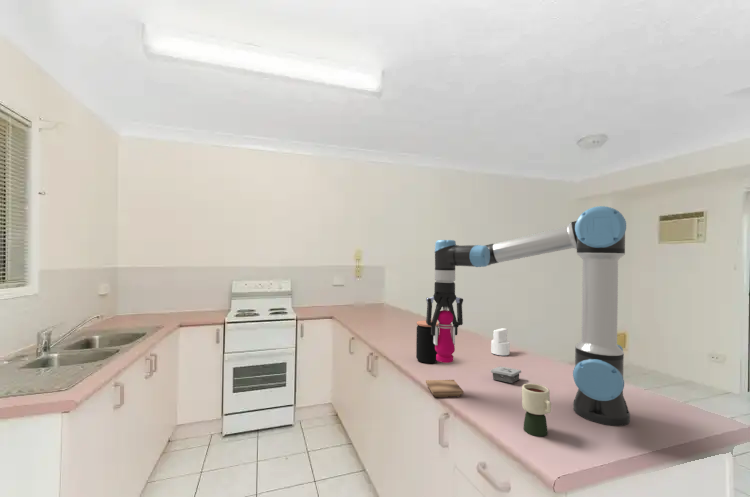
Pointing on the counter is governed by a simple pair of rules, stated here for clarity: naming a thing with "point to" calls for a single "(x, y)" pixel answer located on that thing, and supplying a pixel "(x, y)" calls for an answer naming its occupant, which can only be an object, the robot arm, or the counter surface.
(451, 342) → the pepper mill
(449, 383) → the walnut stand
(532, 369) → the counter surface
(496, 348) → the cylinder with rectangular tab
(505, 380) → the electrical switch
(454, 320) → the robot arm
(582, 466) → the counter surface
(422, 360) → the coffee jar
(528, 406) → the character mug
